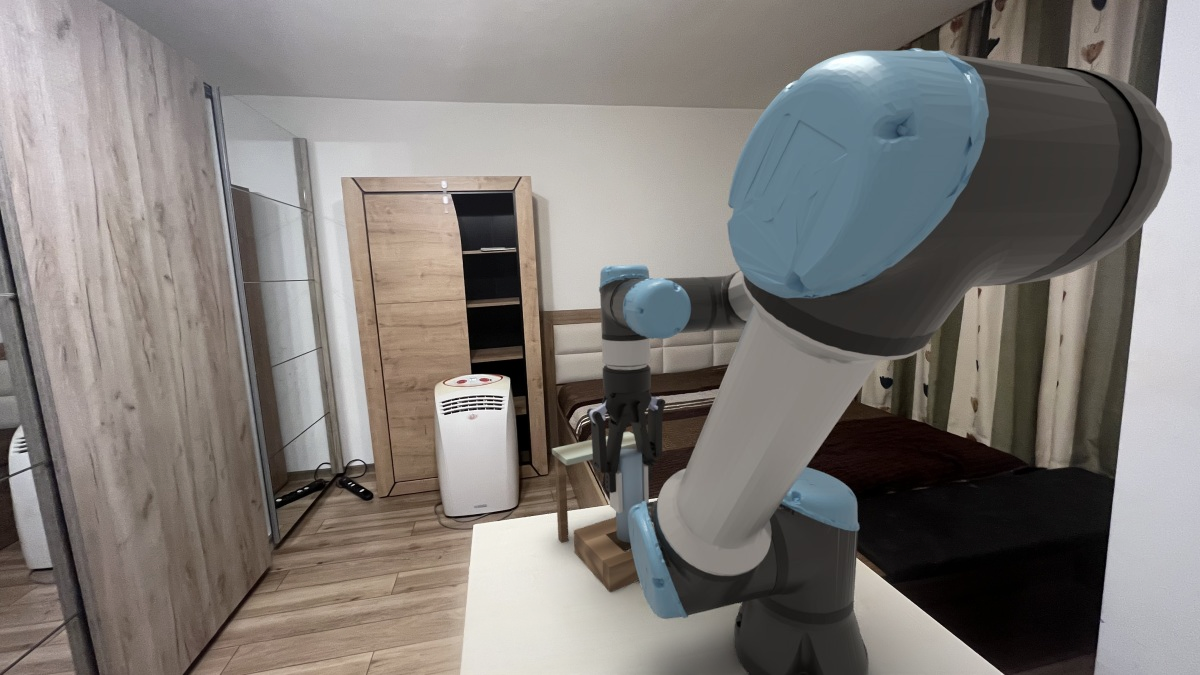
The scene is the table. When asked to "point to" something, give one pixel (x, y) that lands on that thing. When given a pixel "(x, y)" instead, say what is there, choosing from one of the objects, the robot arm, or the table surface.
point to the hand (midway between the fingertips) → (629, 504)
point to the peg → (629, 488)
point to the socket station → (600, 538)
